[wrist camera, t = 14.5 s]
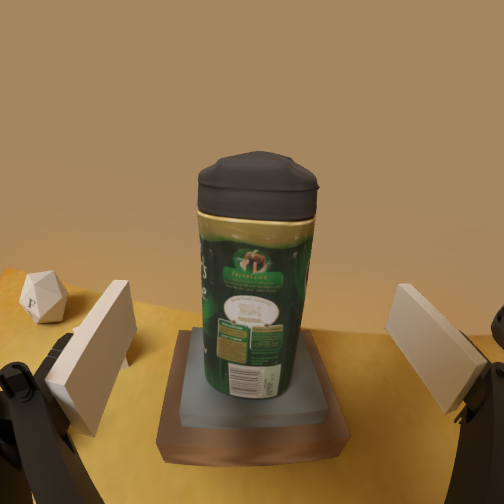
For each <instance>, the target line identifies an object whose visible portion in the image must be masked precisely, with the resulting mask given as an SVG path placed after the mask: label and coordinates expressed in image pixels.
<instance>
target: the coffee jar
mask: <svg viewBox="0 0 504 504" xmlns="http://www.w3.org/2000/svg"><path fill="white" fill-rule="evenodd" d="M198 183H199V186H198V209H197V215H198V216H197V217H198V224H199V225H198V226H199V233H200V249H201V279H202V308H203V309H202V310H203V346H204V368H205V377H206V380H207V381H208V383H209V384H210V385H211V386H212V387H213V388H214V389H215V390H217V391H219V392H221V393H224V394H226V395H229V396H232V397H236V398H241V399H249V400H259V399H269V398H273V397H276V396H278V395H280V394H281V393H283V392H284V391H285V390H286V389H287V387H288V386H289V383H290V380H291V376H292V372H293V367H294V362H295V356H296V351H297V345H298V338H299V332H300V326H301V320H302V313H303V307H304V301H305V294H306V287H307V280H308V272H309V265H310V257H311V249H312V241H313V234H314V225H315V217H316V209H317V190H318V189H319V188H320V187H319V186H318V184H317V179H316V177H315V175H314V174H313V173H311V172H310V171H309V170H307V169H305V168H304V167H302V166H300V165H299V164H296V163H295V162H294V161H293V160H292V159H291V158H289V157H286V156H282V155H279V154H275V153H270V152H264V151H255V152H249V153H244V154H240V155H235V156H230V157H225V158H221V159H219V160H218V161H217V162H216V164H214V165H212V166H210V167H207V168H205V169H203V170H202V171H201V172H200V173H199V177H198Z"/></svg>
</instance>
